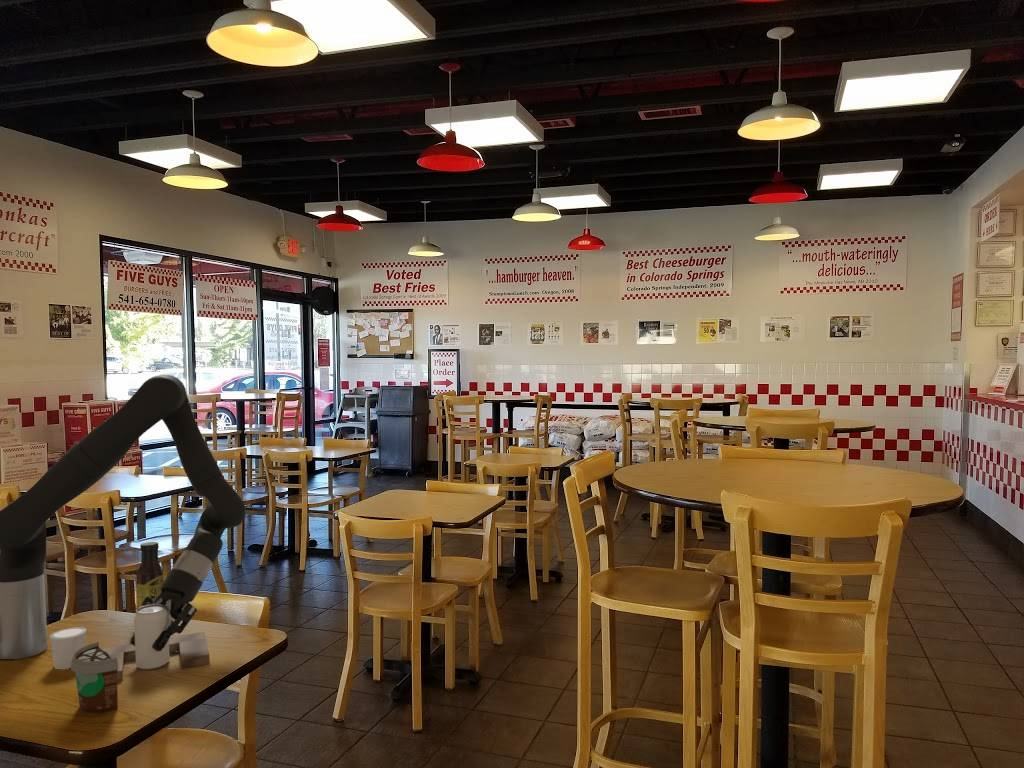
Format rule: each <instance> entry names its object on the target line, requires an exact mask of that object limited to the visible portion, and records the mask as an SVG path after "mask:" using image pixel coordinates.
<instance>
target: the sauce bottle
mask: <svg viewBox="0 0 1024 768" xmlns="http://www.w3.org/2000/svg"><path fill="white" fill-rule="evenodd" d="M139 546H140V547H139V549H140V551H141V552H140V554H141V556H140V557H141V559H140V562H141V563H140V565H139V566H138V568H137V570H136V583H135V587H136V589H135V590H136V598H135V599H136V610H137V609H138V608H140V607H141V605H142V603H143V601H144V599H145V598H146V597H147V596H148V597H150V598H151V599H156V598H157V597H158V596H159V595H160V594H161V592H162V589H161V586H162V584H163V582H164V581H165V573H164V572H163V569H162V566H161V563H160V561H159V547H160V546H159V542H158V541H149V542H148V541H147V542H143V543H141V544H140V545H139Z"/></svg>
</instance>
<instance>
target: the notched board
mask: <svg viewBox="0 0 1024 768" xmlns="http://www.w3.org/2000/svg"><path fill="white" fill-rule="evenodd" d="M207 642H208V641H207V637H206V633H205V631H199V632H193V633H187V634H182V635H177V636H170V638H169V654H172V652H174V653H177V652H176V651H179V657H180V658H179V659H180V667H181V669H182V670H183V669H189V668H194V667H199V666H200V667H201V666H206V665H210V662H211V661H210V651H209V645H208V643H207ZM100 649H101V650H103V651H105V652H107V653H108V655H109V656H110V657H111V658H112V659H113V658H117V661H118V669H117V682H120V681H123V678H124V665H125V662H128V661H133V660H136V654H135V646H134V645H132V644H131V643H129V644H128V643H127V644H124V645H116V646H111V647H105V648H100Z"/></svg>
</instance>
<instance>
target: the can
mask: <svg viewBox="0 0 1024 768" xmlns="http://www.w3.org/2000/svg"><path fill="white" fill-rule="evenodd" d="M166 622H167V611H166V610H165V606H164V605H161V604H153V605H147V606H143V607H140V608H138V609H137V608H136V610H135V614H134V618H133V627H134V629H133V630H134V633H135V654H136V659H135V666H136V668H138V669H139V670H144V671H146V670H156V669H158V668H161V667H164V666H165V665H167V664H168V663H169V661H170V653H169V640H168V642H167V643H166V645H165V647H164V648H163V649H162V650H161V651H156V650H155V649H153V648H152V645H153V644H154V642H155V640H156V639H157V638H158V637H159V636H160V634H161V633H162V631H164V630H163V629H164V627H165V624H166Z"/></svg>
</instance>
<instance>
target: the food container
mask: <svg viewBox="0 0 1024 768" xmlns="http://www.w3.org/2000/svg"><path fill="white" fill-rule="evenodd" d="M101 649H102V648H101V647H100V644H99V641H95V642H93V643H90V644H88V645H85V647H83V648H81V649H79V650H78V651H76V652H75V654H74V656H73V658H72V662H71V669H70V670H72V671H73V672H74V674H75V680H76V689H77V696H78V702H79V710H80V711H81V712H84V713H87V714H100V713H101V714H102V713H106V712H112V711H114V710H118V707H119V706H118V700H119V699H118V697H119V696H118V681H117V669H118V661H117V658H113V659H112V658H111V657H110V656H109V655H108V653H107V652H105V651H103V650H101Z"/></svg>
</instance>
